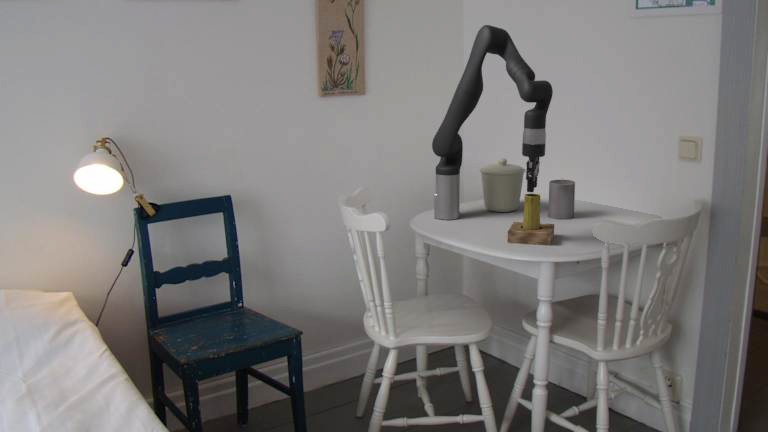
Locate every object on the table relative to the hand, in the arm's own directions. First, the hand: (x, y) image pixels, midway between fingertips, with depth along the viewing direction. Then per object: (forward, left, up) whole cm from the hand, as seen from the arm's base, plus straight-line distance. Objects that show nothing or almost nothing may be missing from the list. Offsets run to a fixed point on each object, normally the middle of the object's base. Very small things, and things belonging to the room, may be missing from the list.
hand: (531, 189), depth 248 cm
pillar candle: (+7, +37, -18) cm, 42 cm away
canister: (-17, +44, -17) cm, 50 cm away
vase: (0, 0, -16) cm, 16 cm away
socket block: (0, 0, -17) cm, 17 cm away
